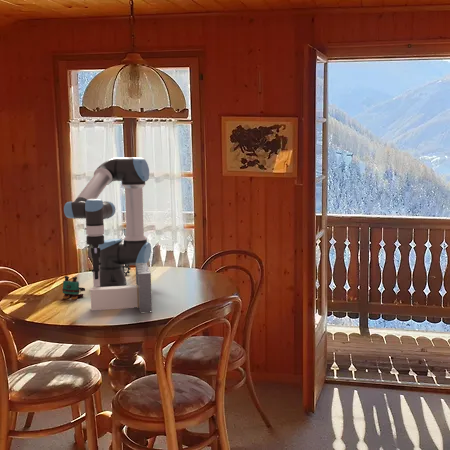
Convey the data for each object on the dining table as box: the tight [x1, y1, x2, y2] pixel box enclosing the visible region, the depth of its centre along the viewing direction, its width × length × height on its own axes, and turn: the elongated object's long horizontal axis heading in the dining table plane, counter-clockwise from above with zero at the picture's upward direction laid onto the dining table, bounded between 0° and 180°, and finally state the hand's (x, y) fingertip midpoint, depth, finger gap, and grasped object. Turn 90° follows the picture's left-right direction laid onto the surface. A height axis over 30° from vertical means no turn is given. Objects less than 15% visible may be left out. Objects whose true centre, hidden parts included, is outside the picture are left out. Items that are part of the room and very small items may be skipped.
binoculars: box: [62, 275, 86, 301], centre depth 295 cm, size 9×11×10 cm
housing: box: [135, 262, 153, 314], centre depth 277 cm, size 5×24×17 cm, turn 11°
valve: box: [122, 265, 131, 276], centre depth 346 cm, size 7×7×12 cm
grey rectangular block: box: [89, 284, 139, 311], centre depth 276 cm, size 23×5×9 cm, turn 102°
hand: (96, 283), depth 273 cm, fingers open, 13 cm apart
